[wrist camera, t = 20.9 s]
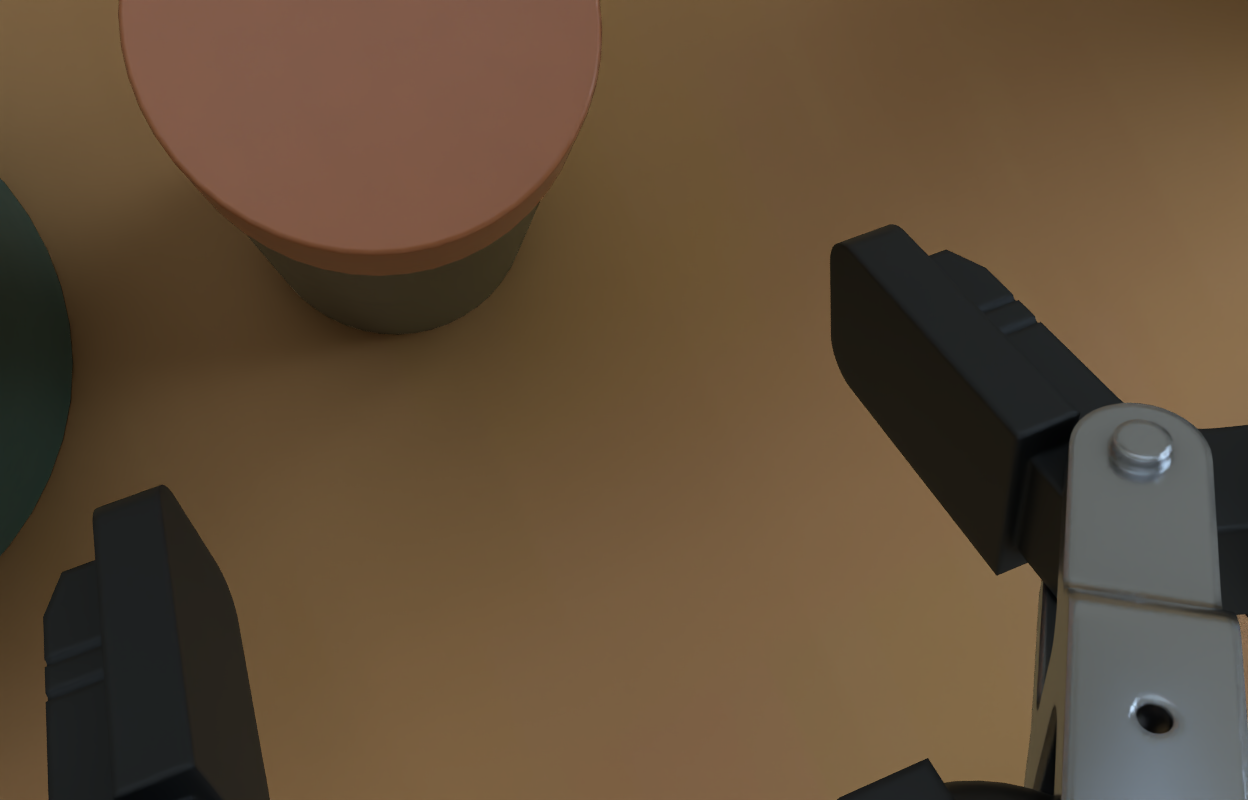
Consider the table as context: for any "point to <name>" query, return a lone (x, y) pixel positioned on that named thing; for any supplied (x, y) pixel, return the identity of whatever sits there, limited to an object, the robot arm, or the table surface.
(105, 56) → the table surface
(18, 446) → the biscuit tin
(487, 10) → the tea tin
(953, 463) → the robot arm
